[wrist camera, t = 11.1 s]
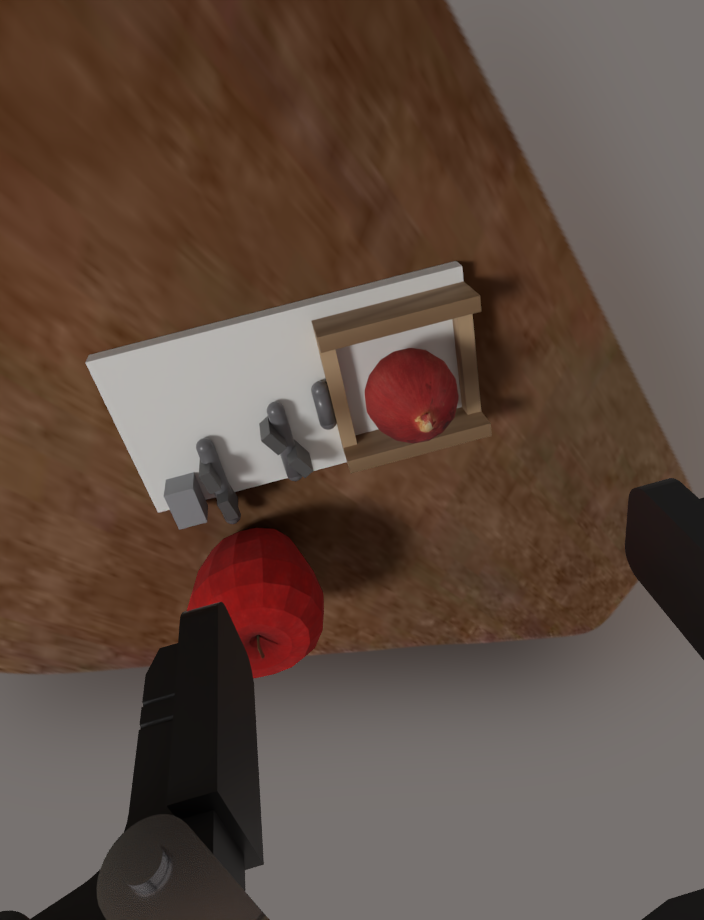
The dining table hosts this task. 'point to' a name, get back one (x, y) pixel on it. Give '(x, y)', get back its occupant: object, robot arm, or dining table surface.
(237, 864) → the robot arm
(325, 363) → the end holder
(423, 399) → the onion
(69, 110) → the dining table surface
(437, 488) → the dining table surface
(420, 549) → the dining table surface
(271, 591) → the apple
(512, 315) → the dining table surface
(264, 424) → the board
